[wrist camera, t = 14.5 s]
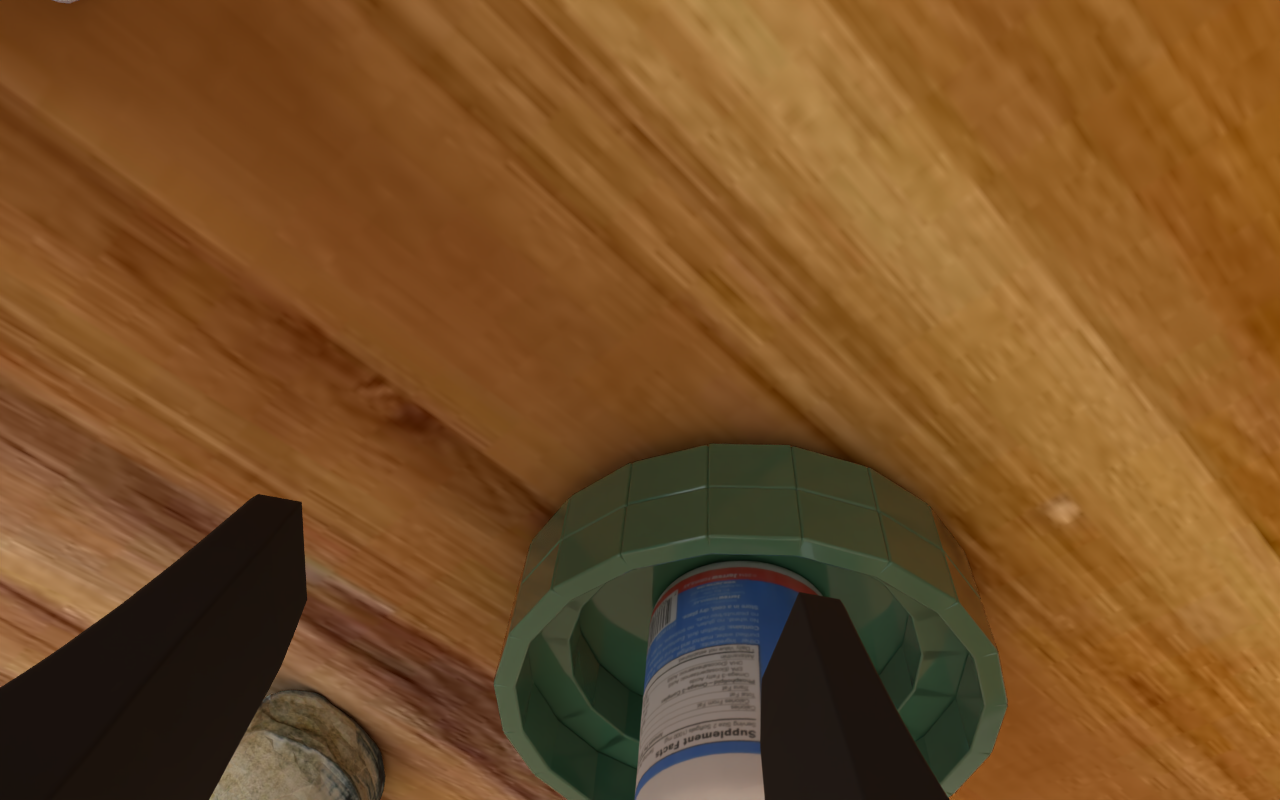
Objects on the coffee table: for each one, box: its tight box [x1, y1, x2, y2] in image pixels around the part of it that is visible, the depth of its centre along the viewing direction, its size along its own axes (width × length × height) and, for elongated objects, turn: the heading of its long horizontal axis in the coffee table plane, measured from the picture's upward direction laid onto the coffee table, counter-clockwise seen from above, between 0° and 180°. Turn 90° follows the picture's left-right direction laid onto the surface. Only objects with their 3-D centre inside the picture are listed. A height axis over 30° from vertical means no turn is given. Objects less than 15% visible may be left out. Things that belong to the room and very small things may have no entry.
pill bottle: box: [635, 561, 822, 800], centre depth 22 cm, size 6×5×10 cm
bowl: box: [494, 443, 1008, 800], centre depth 24 cm, size 13×13×4 cm
